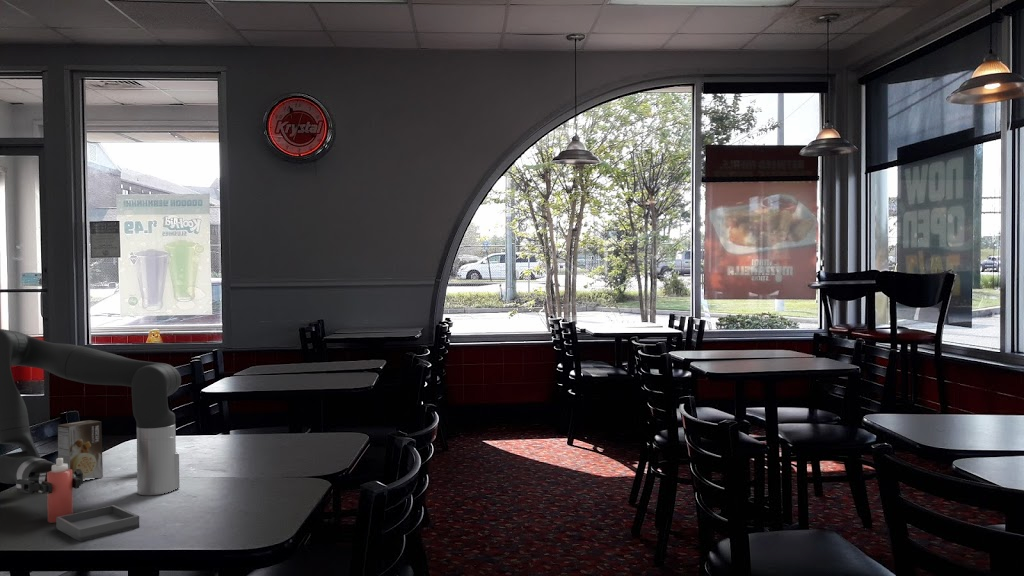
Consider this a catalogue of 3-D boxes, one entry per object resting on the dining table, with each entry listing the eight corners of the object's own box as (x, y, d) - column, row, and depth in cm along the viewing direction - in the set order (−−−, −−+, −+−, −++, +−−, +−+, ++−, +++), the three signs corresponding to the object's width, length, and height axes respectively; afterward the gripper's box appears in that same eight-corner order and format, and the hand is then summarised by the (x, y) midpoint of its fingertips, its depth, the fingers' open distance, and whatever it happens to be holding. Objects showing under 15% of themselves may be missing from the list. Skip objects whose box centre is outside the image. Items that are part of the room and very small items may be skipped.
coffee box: (91, 475, 213) (90, 419, 214) (103, 477, 210) (102, 421, 210) (57, 482, 206) (57, 424, 206) (70, 485, 202) (69, 426, 202)
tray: (113, 515, 173) (113, 504, 173) (139, 527, 164) (139, 516, 164) (56, 528, 164) (56, 517, 164) (79, 541, 155) (79, 529, 155)
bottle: (68, 514, 174) (67, 455, 174) (76, 518, 171) (75, 458, 171) (44, 519, 171) (43, 459, 171) (52, 524, 167) (51, 462, 167)
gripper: (4, 465, 175) (28, 476, 164) (71, 454, 186) (97, 464, 175) (4, 497, 175) (28, 510, 164) (71, 484, 186) (98, 495, 175)
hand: (64, 486), depth 169 cm, fingers closed on bottle, 5 cm apart
